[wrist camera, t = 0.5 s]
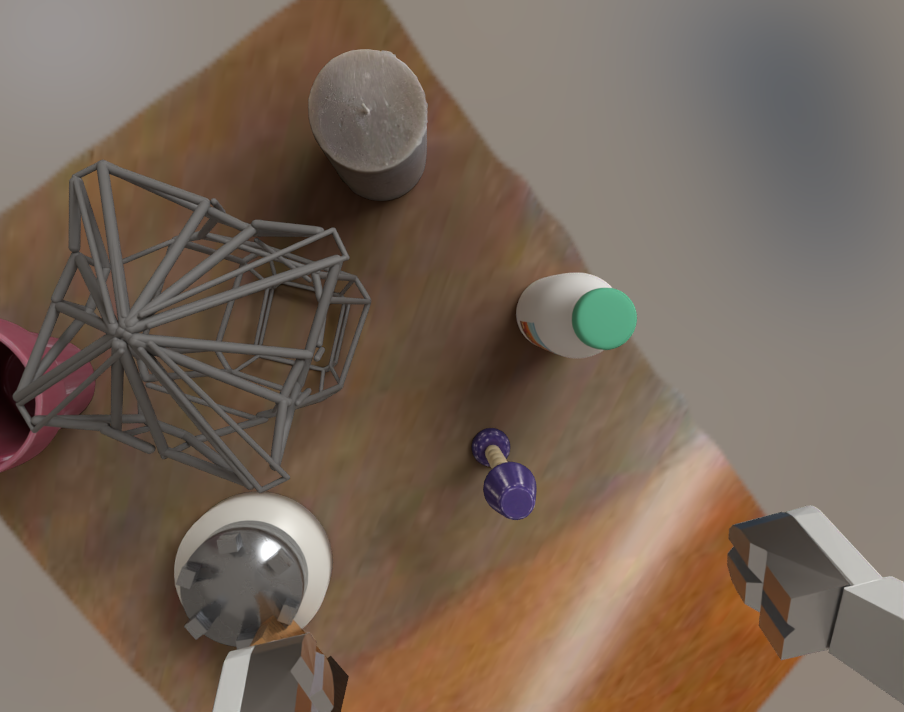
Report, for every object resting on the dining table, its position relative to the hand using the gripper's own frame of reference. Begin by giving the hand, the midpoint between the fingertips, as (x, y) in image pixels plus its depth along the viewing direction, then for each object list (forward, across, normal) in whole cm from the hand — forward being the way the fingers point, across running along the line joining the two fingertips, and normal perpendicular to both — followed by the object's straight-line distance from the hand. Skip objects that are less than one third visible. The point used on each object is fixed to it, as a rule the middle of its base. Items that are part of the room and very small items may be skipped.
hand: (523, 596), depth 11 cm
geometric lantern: (+49, -15, -15) cm, 53 cm away
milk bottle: (+47, +11, -21) cm, 52 cm away
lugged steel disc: (+33, -25, -40) cm, 57 cm away
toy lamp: (+41, +1, -32) cm, 52 cm away
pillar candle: (+55, -2, -2) cm, 55 cm away
